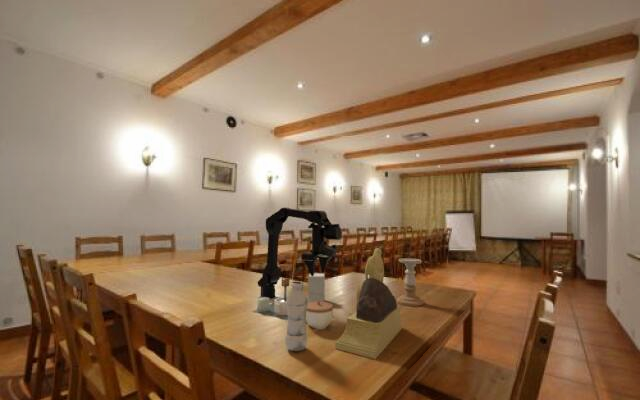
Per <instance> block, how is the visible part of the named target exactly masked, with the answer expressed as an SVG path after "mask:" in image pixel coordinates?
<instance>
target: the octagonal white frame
mask: <svg viewBox="0 0 640 400" xmlns="http://www.w3.org/2000/svg"><path fill="white" fill-rule="evenodd" d="M287 297H288V296H286V298H287ZM283 298H284V296H283V297H282V296H281V297H280V296H279V297H277V298H273V299H274V300H273V301H274V302H273V303H274V312H275V314H277V315H283V316H285V315H288V310H287V302H278V300H279V299H283Z"/></svg>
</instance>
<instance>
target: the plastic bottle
mask: <svg viewBox="0 0 640 400" xmlns="http://www.w3.org/2000/svg"><path fill="white" fill-rule="evenodd" d="M304 284H305V283H304V282H303V281H298V280H297V281H292V282H291V287H290V289H291V290H290V291H291V292H290V293H289V294H288V295H287V296H286V297H287V310H288V320H287V327H286V330H287V331H286V335H285V340H284V341H285V347H286V349H287V350H289V351H290V352H301V351H304V350H305V349H306V347H307V345H308V334H307V326H306V325H307V324H306V323H307V322H306V312H307V305H308V295H307V294H306V292H305V291H304V289H305V286H304Z"/></svg>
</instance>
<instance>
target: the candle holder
mask: <svg viewBox="0 0 640 400" xmlns="http://www.w3.org/2000/svg"><path fill="white" fill-rule="evenodd" d="M398 262H399V263H402V264H404V266H405V267H406V269H405V270H404V273H405V276H404V277H405V278H404V281H403V283H404V286H403V289H404V290H405V291H404V294H403V295H400V296H399V297H397V298H396V303H398V304H400V305H403V306H408V307H420V306H423V305H425V304H424V303H425V301H424V300H423V299H422V298H421V297H420V296H418V295H416V291H417V289H418V288H417V287H416V284H417V281H416V278H415V274H416V273H417V271H415V267H416V265H417V264H422V260H421V259H418V258H413V257H412V258H409V257H405V258H398Z"/></svg>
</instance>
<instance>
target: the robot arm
mask: <svg viewBox="0 0 640 400" xmlns="http://www.w3.org/2000/svg"><path fill="white" fill-rule="evenodd" d="M289 217H290V218H296V219H297V218H298V219H303V220H306V221H307V222H309V223H310V222H311V223H310V225H308V226H307V228H308V229H311V240H309V241H310V242H309V243H310V244H311V249H310V250H309V251H306V252H302V254H301V257H300V258H301V260H302V261H303V262H304V264H305V265H306V267H307V269H308V272H309V275H310V274H311V276H314V273H315V269H316V264H317V263H318V262H319V266H320V267H319V268H320V270H321V274H325V272H326V269H327V265H328V262H329V261H330V260H331V259H332V258H333V257H336V254H337V253H338V252H339V250H338V245H337V244H332V245H329V244H328V241H327V240H332V241H333V240H334V241H335V240H336V241H339V240H340V239H342V236H343V231H342V228H341V226H340V223H333V224H332V222H331V221H330V219H329V218H328V215H327V213H326V211H324V210H302V209H296V208H290V207H281V208H280V209H279V210H278V211H276V212H274V213H273V214H271V215H270V216H268V217H267V218H266V219H265V230H266V232H267V234H268V235H267V236H268V239H267V254H266V265H265V267H264V268H263V272H262V277H261V278H259V280H258V281H257V286H258V287H260V296H259V297H258V298H260V297H268V298H270V300H271V299H276V297H277V295H276V287H275V285H278V282H279V280H280V279H281V277H282V273H281V271H282V268H281V267H279V265H278V257H279V256H278V252H279V240H280V239H279V237H280V234H281V232H282V230H283V226H284V223H286V222H287V220H288V218H289ZM258 298H257V299H258ZM277 298H278V297H277Z"/></svg>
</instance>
